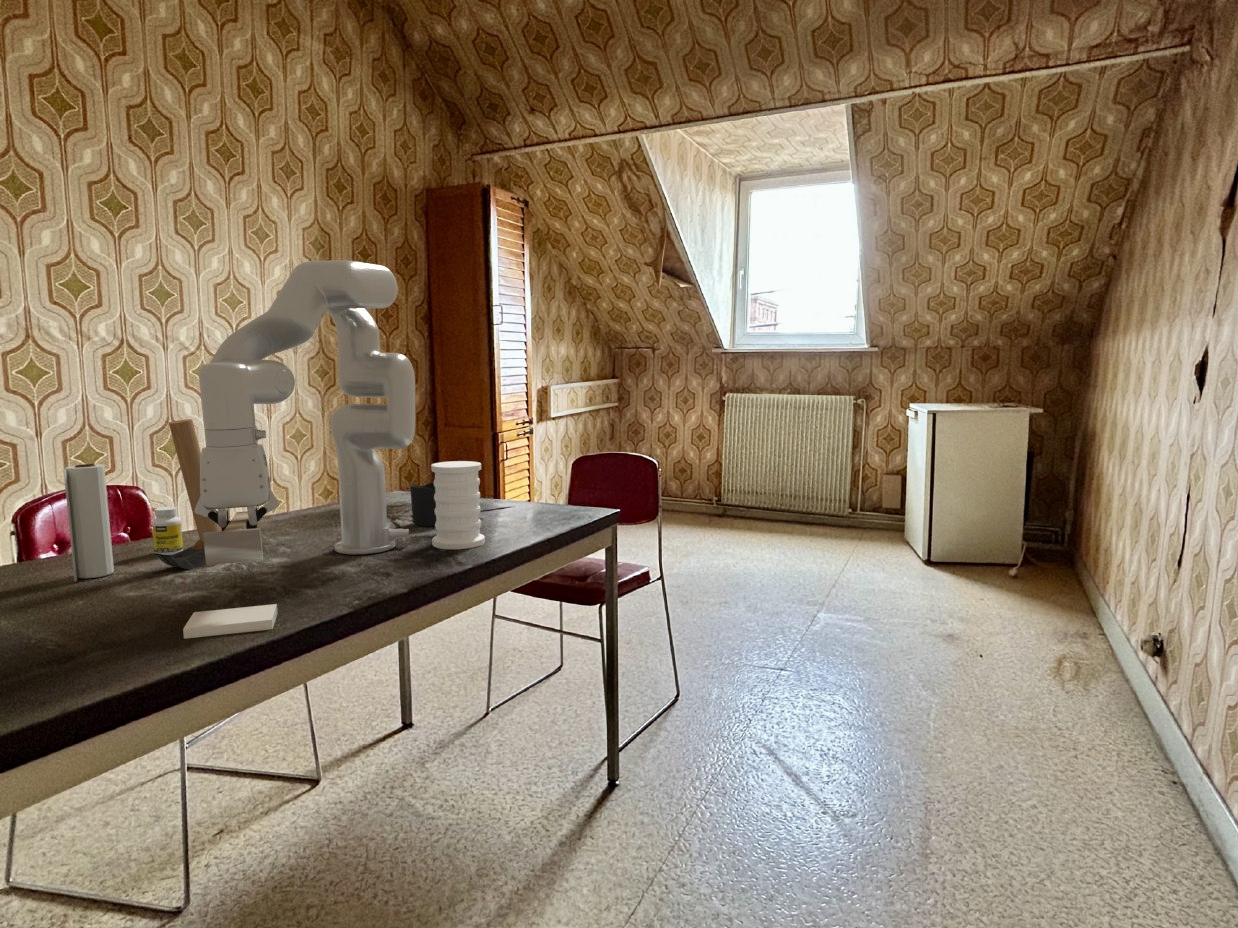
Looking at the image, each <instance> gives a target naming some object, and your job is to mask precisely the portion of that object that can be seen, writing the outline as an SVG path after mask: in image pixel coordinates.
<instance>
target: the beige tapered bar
mask: <svg viewBox="0 0 1238 928" xmlns="http://www.w3.org/2000/svg"><path fill="white" fill-rule="evenodd" d="M248 520H249V518H248V511H247V510H246V511H236V513H235V514H234V515H233V517H232V519H230V523H229V524H228V526H227V527H226V529H225V530H224V531H222V530H221V531H218V532H206V533H204V534H203V539H204V548H205V558H206V565H205V566H213V565H225V564H233V563H245V562H256V561H263V560H264V555H263V554H264V552H263V542H262V541H263V540H262V529H261V528H260V527H259V528H258V527H257V528H255V529H247V525H248Z"/></svg>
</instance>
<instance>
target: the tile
mask: <svg viewBox="0 0 1238 928" xmlns="http://www.w3.org/2000/svg"><path fill="white" fill-rule="evenodd" d="M278 612H279V611H278V604H277V603H273V604H265V605H254V606H252V605H251V606H244V607H235V608H226V609H225V608H223V609H215V610H203V611H194V612H193V613H192V615H191V616H190V617H189V619H188V621H187V622H186V623H185V625H184V627H183V629H182V631H183V639H184V640H185V639H193V638H200V637H201V638H203V637H204V638H205V637H212V636H213V637H214V636H221V635H222V636H223V635H230V634H240V633H248V632H249V633H250V632H260V631H267V630H268V631H269V630H273V629H274V625H275V623H276V619H277V616H278Z"/></svg>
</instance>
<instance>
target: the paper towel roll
mask: <svg viewBox="0 0 1238 928" xmlns="http://www.w3.org/2000/svg"><path fill="white" fill-rule="evenodd" d="M105 469H106V468H105V465H104V464H102V463H101V464H100V463H99V464H97V463H85V464H84V463H83V464H76V465H69V466H65V467H64V468H63V479H64V488H65V499H66V508H67V519H68V520H67V521H68V527H69V536H70V537H69V539H70V548H71V558H72V565H73V566H72V568H73V580H74V582H77V581H78V579H92V578H93V579H94V578H101V577H106V576H109V575H111V574H113V573H114V572H115V567H114V558H113V557H114V555H113V545H112V544H113V543H112V536H111V525H110V513H109V512H110V511H109V503H108V495H107V494H108V493H107V491H108V490H107V483H106V472H105Z"/></svg>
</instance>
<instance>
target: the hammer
mask: <svg viewBox="0 0 1238 928" xmlns="http://www.w3.org/2000/svg"><path fill="white" fill-rule="evenodd" d="M168 426H169V430H170V433H171V437H172V441H173V445H174V448H175V451H176V456H177V460H178V464H179V467H180V471H181V474H182V478H183V482H184V485H185V490H186V493H187V494H186V495H187V498H188V500H189V503H190V507H191V512H192V515H193V519H194V523H195V527H196V530H197V534H198V540H197V541H196V542H195V543H194V545H192V546H191V547H187V548H185V549H183V551H180V552H178V553H176V554H173V555H162V554H158V553H154V552H153V554H154V555H155V557H156V558H158V559H159V560H160V561H161V562H162V563H164V564H166V565H167V566H170V567H174V568H178V569H179V568H180V569H184V570H193V569H197V568H201V567H205V566H207V565H206V558H205V548H204V539H203V534H204V533H206V532H218V531H222V529H221V527H219V525H218V524H217V523H215V522H214V521H213V520H211V519H210V518H209V517H205V516H202V515H199V514H196V513H195V512H194V510H195V507H196V505H197V503H198V500H199V498H200V496H201V494H200V460H201V451H202V450H201V447H200V445H199V444H200V443H199V441H198V436H197V432H196V428H195V424H194V421H193V419H192V418H184V419H179V420H172V421H169V422H168ZM212 510H216V511H217V509H212Z"/></svg>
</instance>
